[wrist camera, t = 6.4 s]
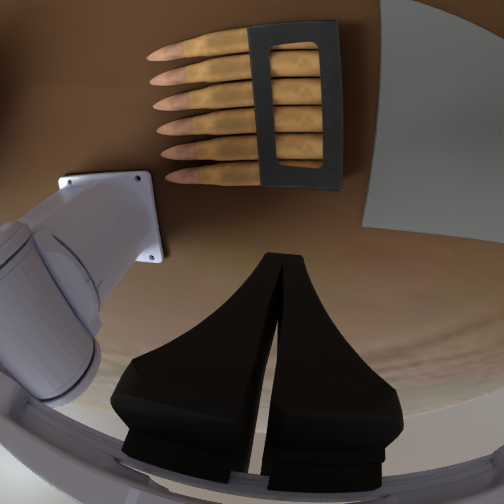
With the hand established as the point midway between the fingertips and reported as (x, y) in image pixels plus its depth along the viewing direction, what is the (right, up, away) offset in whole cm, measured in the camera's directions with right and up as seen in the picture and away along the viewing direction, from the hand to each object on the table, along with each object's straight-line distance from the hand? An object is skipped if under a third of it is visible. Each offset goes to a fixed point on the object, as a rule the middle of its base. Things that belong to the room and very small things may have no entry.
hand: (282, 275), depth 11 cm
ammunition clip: (+4, +10, +4) cm, 11 cm away
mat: (+14, +10, +4) cm, 18 cm away
